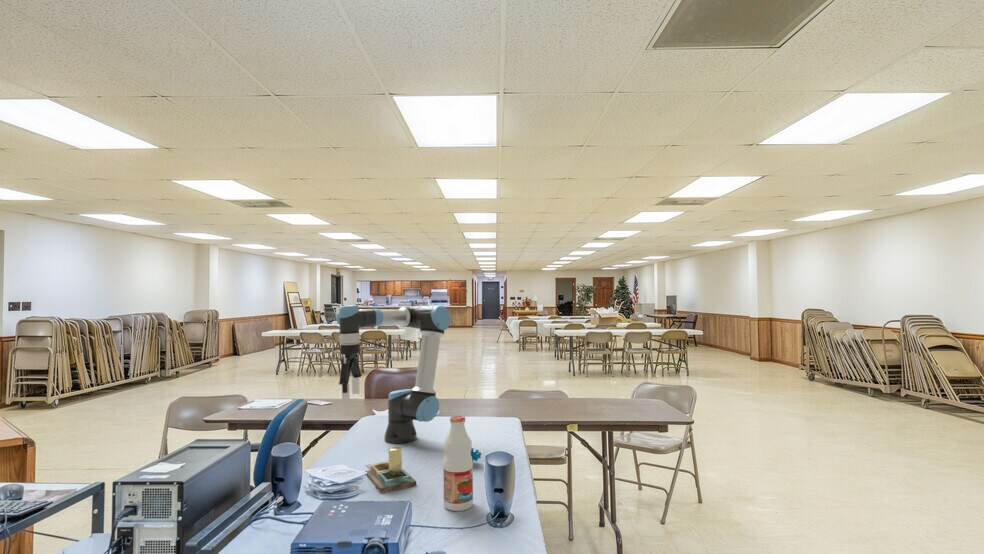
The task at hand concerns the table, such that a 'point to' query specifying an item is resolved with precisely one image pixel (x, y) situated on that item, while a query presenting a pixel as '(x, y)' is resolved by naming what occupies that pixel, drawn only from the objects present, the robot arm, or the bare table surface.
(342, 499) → the table surface
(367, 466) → the mat
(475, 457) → the gear
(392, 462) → the gold metal cylinder
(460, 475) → the fruit juice
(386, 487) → the brown wooden flat tray
